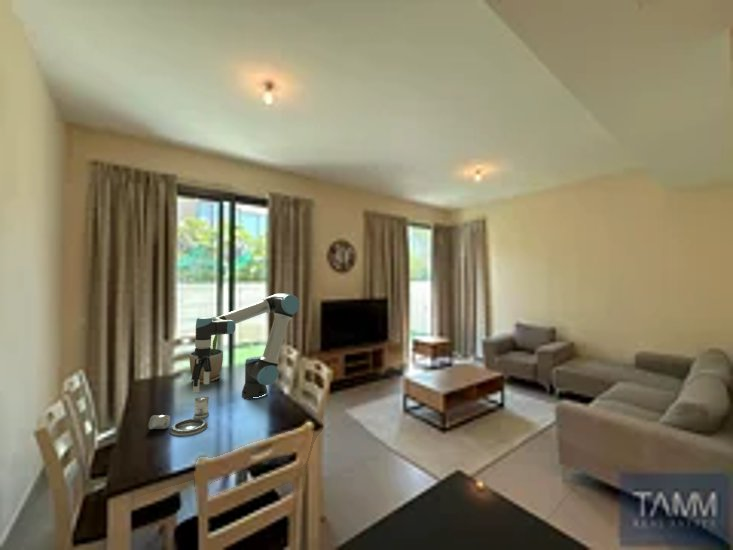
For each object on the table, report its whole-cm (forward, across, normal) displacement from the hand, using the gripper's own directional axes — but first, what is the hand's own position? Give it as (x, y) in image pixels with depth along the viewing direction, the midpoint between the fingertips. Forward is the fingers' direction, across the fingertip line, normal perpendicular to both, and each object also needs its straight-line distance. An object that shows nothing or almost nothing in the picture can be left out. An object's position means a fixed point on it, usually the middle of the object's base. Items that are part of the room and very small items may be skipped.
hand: (201, 388), depth 180 cm
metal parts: (+15, +15, -4) cm, 21 cm away
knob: (+14, 0, 0) cm, 15 cm away
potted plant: (+14, -61, -20) cm, 66 cm away
